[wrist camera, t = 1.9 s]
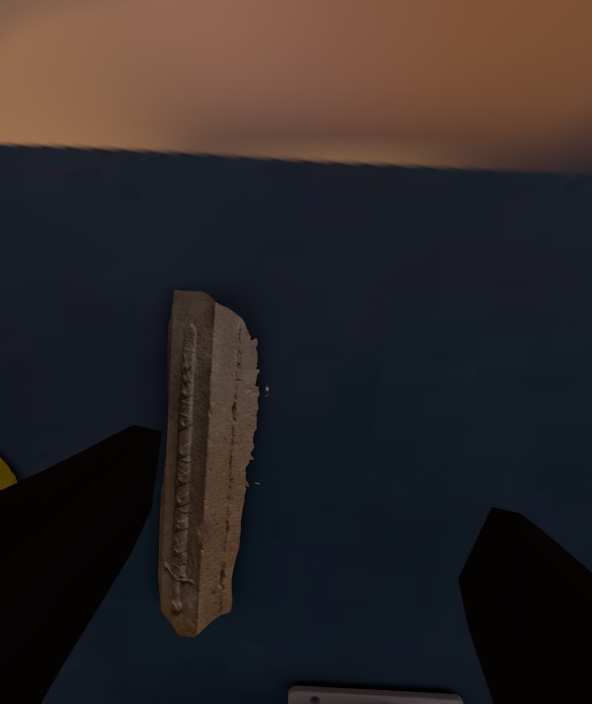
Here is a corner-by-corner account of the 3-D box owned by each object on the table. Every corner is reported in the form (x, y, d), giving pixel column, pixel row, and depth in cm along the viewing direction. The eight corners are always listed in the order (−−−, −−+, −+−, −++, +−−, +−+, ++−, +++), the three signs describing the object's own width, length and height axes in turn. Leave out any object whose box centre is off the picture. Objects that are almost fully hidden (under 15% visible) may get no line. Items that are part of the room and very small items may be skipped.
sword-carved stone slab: (248, 628, 23) (169, 659, 20) (226, 586, 26) (154, 609, 23) (281, 299, 19) (190, 292, 17) (251, 291, 22) (170, 285, 20)
